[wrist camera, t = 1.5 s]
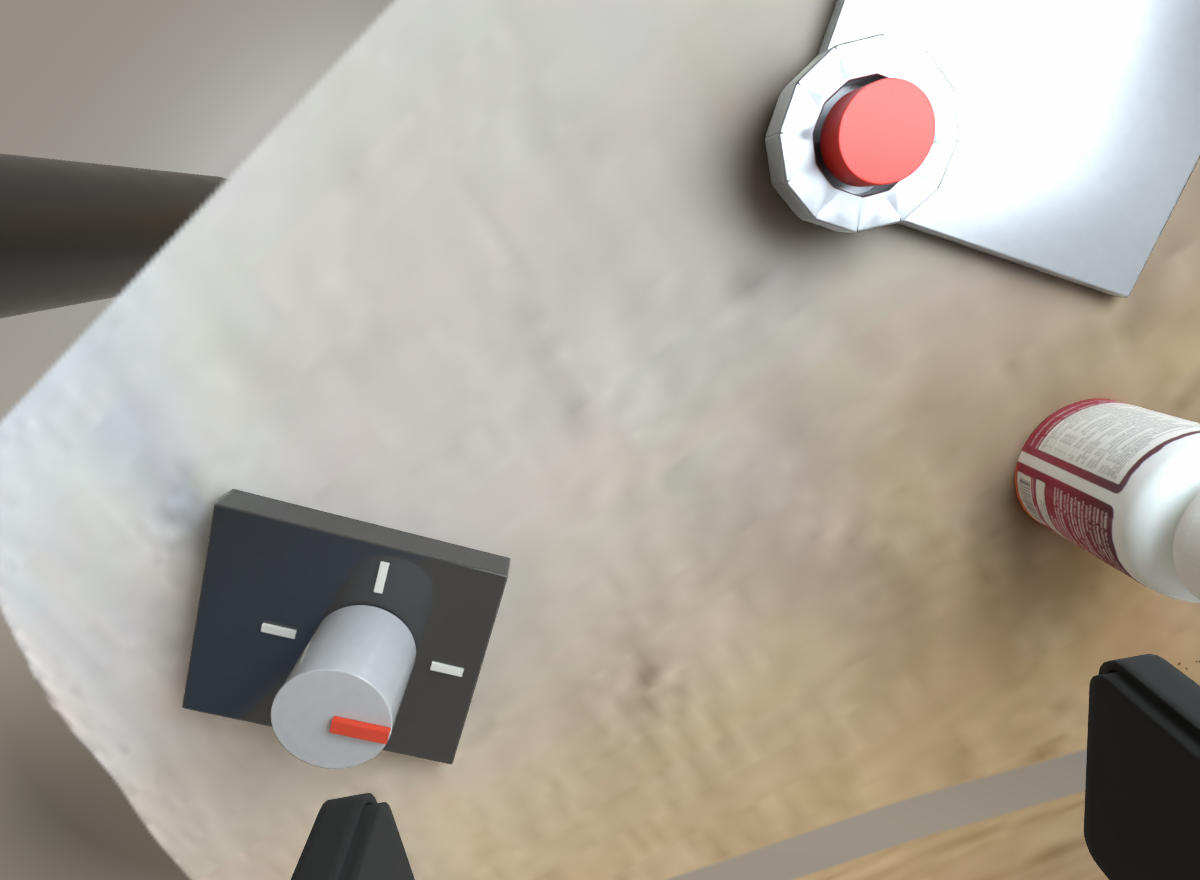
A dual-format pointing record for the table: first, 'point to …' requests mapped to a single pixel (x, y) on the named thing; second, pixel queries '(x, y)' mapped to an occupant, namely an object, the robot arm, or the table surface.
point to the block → (1012, 127)
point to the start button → (878, 133)
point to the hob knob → (345, 688)
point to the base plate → (325, 584)
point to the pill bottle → (1120, 489)
